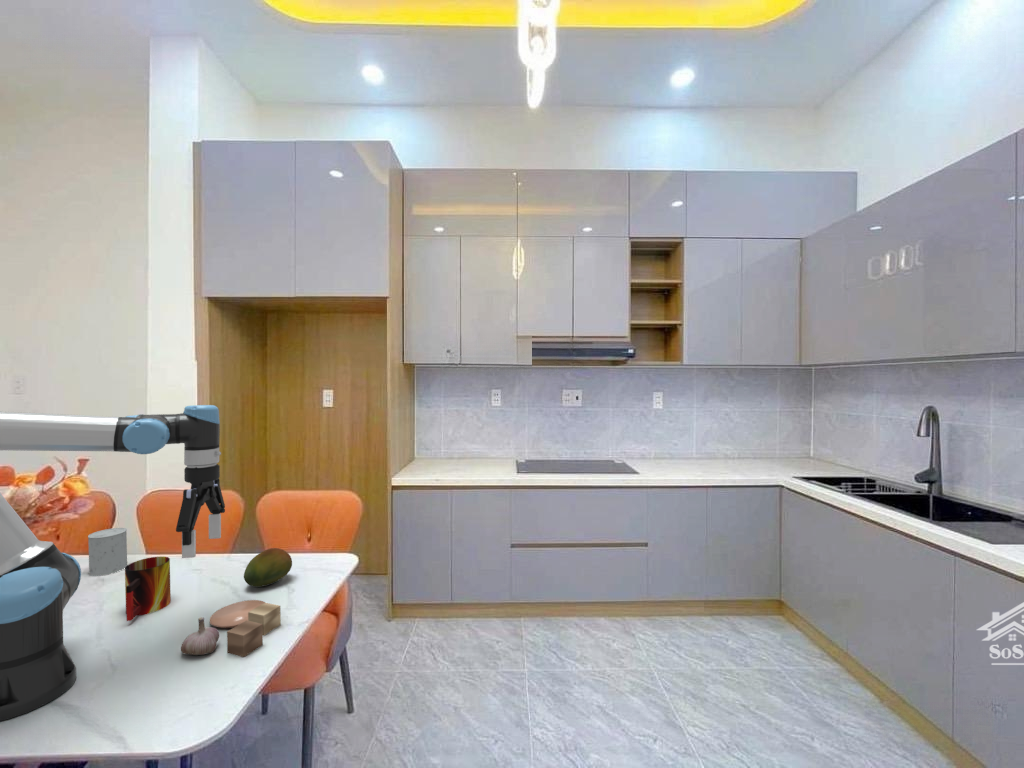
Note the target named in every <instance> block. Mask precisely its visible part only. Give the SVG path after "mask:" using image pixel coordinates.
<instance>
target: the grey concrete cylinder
mask: <svg viewBox="0 0 1024 768" xmlns="http://www.w3.org/2000/svg"><path fill="white" fill-rule="evenodd" d="M87 538H88V539H87V540H88V541H87V542H88V575H89V576H91V577H101V576H108V575H112V574H111V573H113V574H116V573H118V572H117V571H119V570H121V571H123V570H122V569H124V568H125V567H126V566H127V565H128V544H127V540H128V538H127V528H125V527H114V528H106V529H102V530H98V531H95V532H92V533H89V534H88V536H87ZM124 570H125V569H124ZM115 572H116V573H115ZM119 572H120V571H119Z"/></svg>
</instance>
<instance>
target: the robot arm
mask: <svg viewBox="0 0 1024 768" xmlns="http://www.w3.org/2000/svg"><path fill="white" fill-rule="evenodd" d="M220 424H221V422H220V410H219V407H217V406H216V405H213V404H199V405H198V404H197V405H185V407H183V413H182V412H181V413H169V414H168V413H167V414H165V413H164V414H163V413H162V414H158V413H157V414H137V415H136V414H135V415H133V414H132V415H127V416H107V415H106V416H103V415H84V414H63V413H62V414H61V413H60V414H59V413H43V412H42V413H41V412H40V413H39V412H22V411H21V412H20V411H19V412H18V411H0V451H20V452H21V451H26V452H27V451H31V452H32V451H35V452H40V451H42V452H118V453H119V452H120V453H133V454H137V455H149V454H153V453H156V452H158V451H160V450H161V449H163V448H164V447H165V446H166V445H175V444H178V445H179V444H184V452H183V454H184V456H183V457H184V460H183V463H184V464H183V465H184V466H186V467H185V468H183V471H184V477H183V478H184V481H185V483H189V484H191V485H190V489H183V491H182V492H183V493H182V501H181V506H180V510H179V513H178V517H177V518H178V519H177V524H176V528H175V531H176V532H177V533H181V559H189V558H192V559H193V558H196V557H197V556H196V554H197V551H196V550H197V536H196V535H197V534H196V533H197V530H196V529H195V526H196V522H197V520H198V517H199V515H200V511H201V507H203V506H205V505H206V507H207V509H208V510H209V513H210V514H208V539H209V540H210V539H211V540H214V539H221V538H222V514H225V513H226V504H225V501H224V497H223V493H222V488H221V485H220V478H221V477H220V476H221V475H220V472H221V471H220V470H221V469H220V467H221V466H220V465H219V464H218V463H219V462H220V456H221V455H222V452H221V451H220V437H221V436H220V430H221V429H220V427H221V426H220ZM81 577H82V568H81V565H80V563H79V562H78V560H77V559H76V558H75V557H73V556H72V555H70V554H68V553H65V552H61V551H60V549H59V548H58V547H57V546H56V544H55V543H54V542H53V541H45V540H40V539H38V538H37V536H36V535H35V534H34V532H33V531H32V530H31V529H30V528H29V526H28V525H27V524H26V523H25V521H24V520H23V519H22V518H21V517H20V515H19V514H18V513H17V512H16V511H15V509H14V508H13V507H12V505H11V504H10V503H9V502H8V500H7V499H6V498H5V497H4V496H3V495H2V493H1V492H0V722H2V721H5V720H9V719H13V718H15V717H19V716H22V715H24V714H27V713H29V712H31V711H33V710H36V709H39V708H40V707H43V706H45V705H46V704H48V703H50V702H52V701H54V700H55V699H57V698H59V697H60V696H62V695H63V694H64V693H65V692H66V691H69V690H70V688H71V687H72V686H73V685H74V683H75V682H76V679H77V668H76V665H75V662H74V661H73V659H72V657H71V655H70V653H69V651H68V650H67V648H66V646H65V644H64V643H65V642H64V620H63V619H64V618H63V616H64V615H63V614H64V610H65V607H66V606H67V604H68V602H69V601H70V600H71V598H72V597H73V596H74V594H75V593H76V592H77V590H78V589H79V585H80V583H81V579H82V578H81Z"/></svg>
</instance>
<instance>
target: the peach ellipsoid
mask: <svg viewBox="0 0 1024 768" xmlns="http://www.w3.org/2000/svg"><path fill="white" fill-rule="evenodd" d="M264 603H266V602H265V601H263V600H258V599H257V600H256V599H249V600H242V601H241V600H240V601H237V602H233V603H231V604H228V605H225V606H223V607H221V608H219V609H218V610H216V611H215V612H214V613H213V614H211V616H210V617H209V623H210V625H211V626H213V627H214V628H220V629H232V628H234V627H236V626H238V625H239V624H241V623H243V622H245V621H246V620H247V621H248V612H249V611H251V610H253V609H255V608H257V607H258V606H260V605H262V604H264Z"/></svg>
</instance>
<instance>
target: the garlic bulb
mask: <svg viewBox="0 0 1024 768" xmlns="http://www.w3.org/2000/svg"><path fill="white" fill-rule="evenodd" d="M197 621H198V630H197V631H195V632H192V633H190V634H189V635H188V636H187V637H186V638H185V639H184V640H183V642H182V643H181V644H180V651H181V653H182V654H184V655H190V656H192V655H193V656H198V655H201V656H203V655H207V654H211V653H213V652H214V651H215V650H216V649H217V646H218V645H217V644H218V641H219V639H220V632H219V630H218V629H217V628H216V627H214V626H213V627H211V626H205V618H204V617H203V616H200V617H199V618H198V620H197Z"/></svg>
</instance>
